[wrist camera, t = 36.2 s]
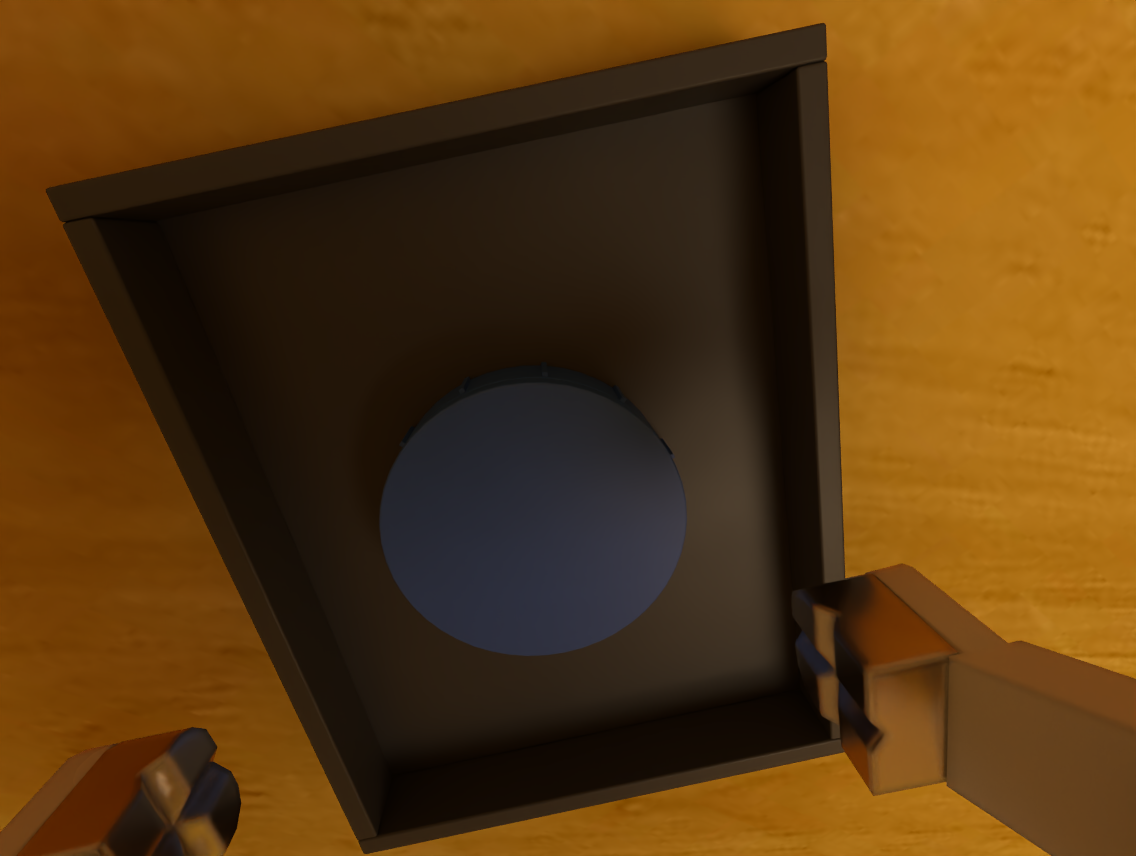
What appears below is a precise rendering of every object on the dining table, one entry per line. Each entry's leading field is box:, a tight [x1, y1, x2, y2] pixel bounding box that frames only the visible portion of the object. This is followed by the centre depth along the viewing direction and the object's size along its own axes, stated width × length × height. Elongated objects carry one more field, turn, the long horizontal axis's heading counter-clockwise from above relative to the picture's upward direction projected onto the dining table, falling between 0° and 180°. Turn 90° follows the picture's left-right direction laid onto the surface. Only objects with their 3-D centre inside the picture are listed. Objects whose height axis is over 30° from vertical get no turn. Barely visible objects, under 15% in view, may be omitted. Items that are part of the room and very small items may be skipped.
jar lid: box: [379, 362, 687, 656], centre depth 11 cm, size 6×6×2 cm
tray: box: [46, 23, 845, 854], centre depth 12 cm, size 15×12×2 cm
